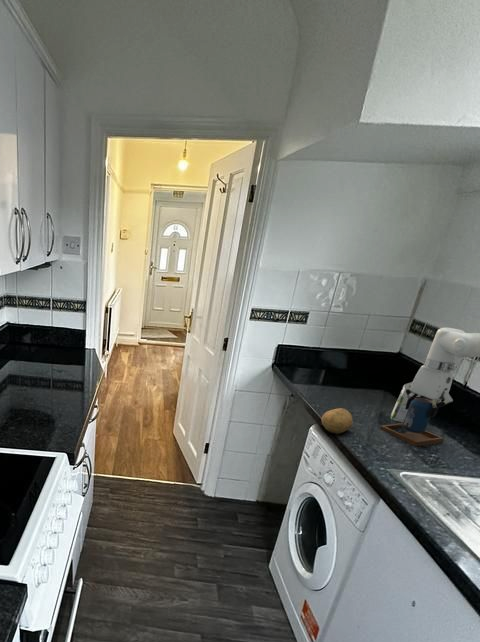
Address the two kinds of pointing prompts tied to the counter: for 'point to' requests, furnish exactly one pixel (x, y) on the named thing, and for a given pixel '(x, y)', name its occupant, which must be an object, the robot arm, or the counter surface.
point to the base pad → (413, 436)
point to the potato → (337, 420)
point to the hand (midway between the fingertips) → (419, 412)
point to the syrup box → (400, 407)
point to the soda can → (417, 415)
